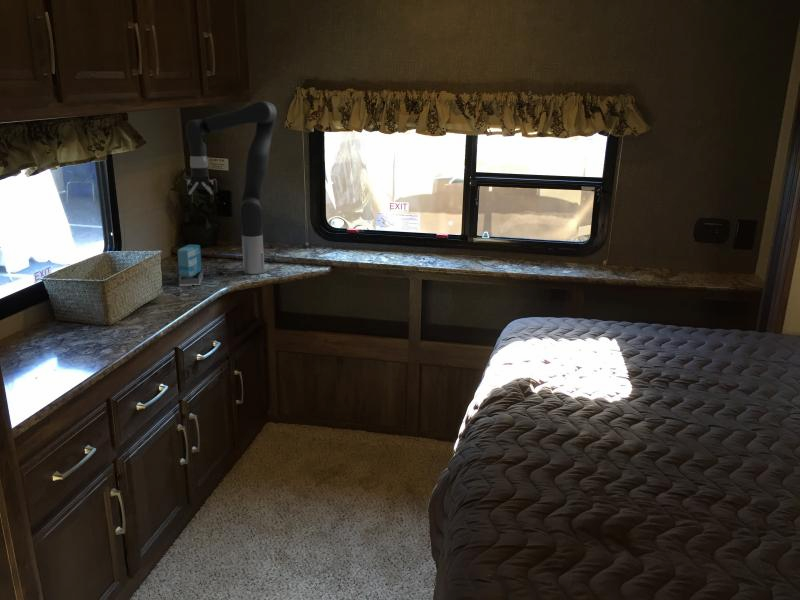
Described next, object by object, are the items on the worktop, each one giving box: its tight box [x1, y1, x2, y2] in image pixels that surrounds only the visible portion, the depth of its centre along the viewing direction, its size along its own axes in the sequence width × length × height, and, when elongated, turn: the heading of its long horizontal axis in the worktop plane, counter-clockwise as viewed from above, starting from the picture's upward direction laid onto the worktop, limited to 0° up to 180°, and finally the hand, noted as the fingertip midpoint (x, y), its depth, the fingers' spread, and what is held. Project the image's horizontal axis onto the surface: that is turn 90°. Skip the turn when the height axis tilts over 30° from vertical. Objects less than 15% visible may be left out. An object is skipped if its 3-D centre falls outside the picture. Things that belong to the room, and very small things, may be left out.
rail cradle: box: [178, 264, 204, 287], centre depth 293 cm, size 8×16×5 cm, turn 10°
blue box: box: [177, 243, 203, 277], centre depth 291 cm, size 12×4×12 cm, turn 170°
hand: (201, 202), depth 306 cm, fingers open, 8 cm apart
